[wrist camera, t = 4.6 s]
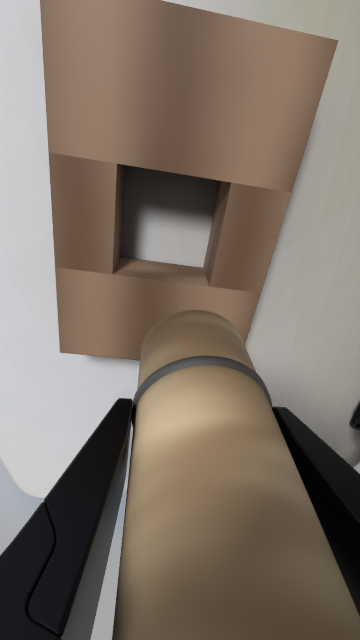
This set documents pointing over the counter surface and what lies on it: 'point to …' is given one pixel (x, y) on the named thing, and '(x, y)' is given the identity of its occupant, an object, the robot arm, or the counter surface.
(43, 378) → the counter surface
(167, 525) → the oak peg
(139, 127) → the walnut board
